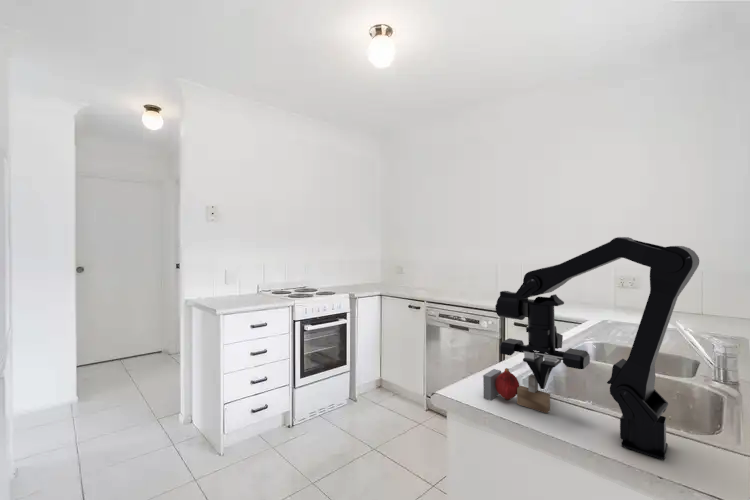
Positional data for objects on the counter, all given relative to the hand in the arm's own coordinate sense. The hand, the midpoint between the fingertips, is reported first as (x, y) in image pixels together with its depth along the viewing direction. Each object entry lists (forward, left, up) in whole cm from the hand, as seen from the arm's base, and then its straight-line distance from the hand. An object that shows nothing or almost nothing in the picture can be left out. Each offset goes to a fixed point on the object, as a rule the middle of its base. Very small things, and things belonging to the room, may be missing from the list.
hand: (542, 388), depth 83 cm
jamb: (+13, 0, -5) cm, 14 cm away
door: (+2, 0, -5) cm, 6 cm away
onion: (+9, 0, -6) cm, 10 cm away
